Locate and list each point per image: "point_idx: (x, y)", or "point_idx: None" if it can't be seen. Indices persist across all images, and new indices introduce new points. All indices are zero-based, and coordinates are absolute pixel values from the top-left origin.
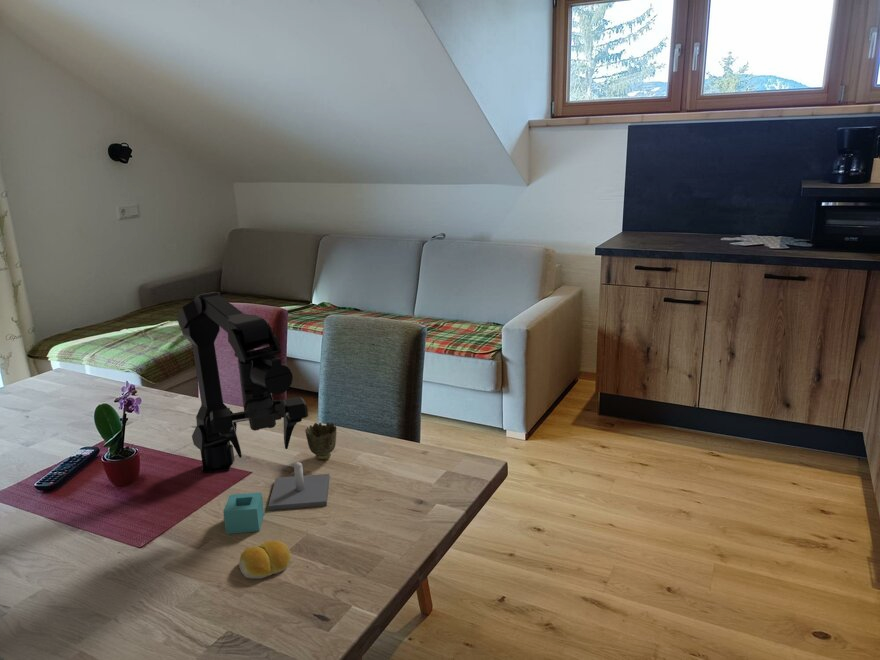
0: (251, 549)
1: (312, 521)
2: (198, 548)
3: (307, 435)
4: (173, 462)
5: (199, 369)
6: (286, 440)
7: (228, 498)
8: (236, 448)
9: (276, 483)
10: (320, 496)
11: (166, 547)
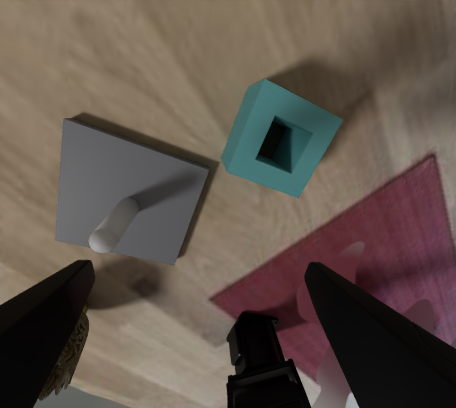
0: None
1: (115, 55)
2: (370, 90)
3: (68, 361)
4: (299, 348)
5: None
6: (35, 301)
7: (306, 182)
8: (373, 300)
9: (176, 246)
10: (80, 150)
11: (407, 130)
